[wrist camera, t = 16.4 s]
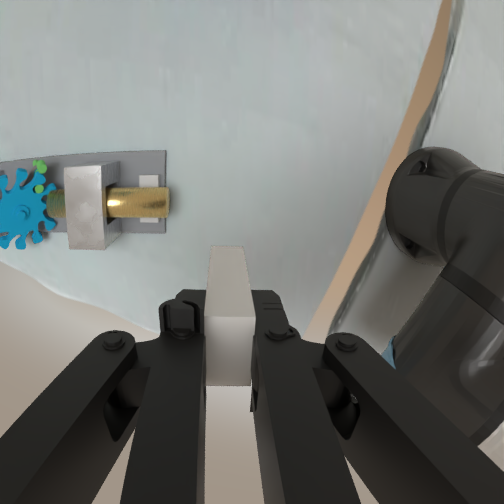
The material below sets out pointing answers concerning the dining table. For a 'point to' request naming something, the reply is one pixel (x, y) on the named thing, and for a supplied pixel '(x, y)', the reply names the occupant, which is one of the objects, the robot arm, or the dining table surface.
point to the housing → (131, 162)
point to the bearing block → (90, 204)
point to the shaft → (121, 202)
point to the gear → (24, 205)
